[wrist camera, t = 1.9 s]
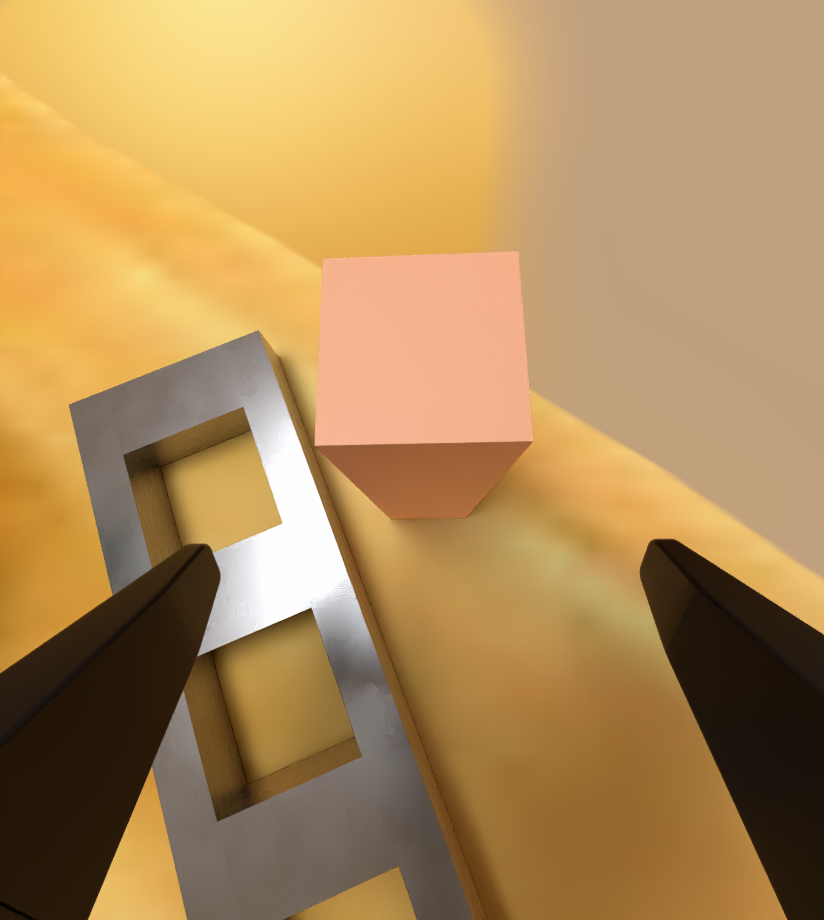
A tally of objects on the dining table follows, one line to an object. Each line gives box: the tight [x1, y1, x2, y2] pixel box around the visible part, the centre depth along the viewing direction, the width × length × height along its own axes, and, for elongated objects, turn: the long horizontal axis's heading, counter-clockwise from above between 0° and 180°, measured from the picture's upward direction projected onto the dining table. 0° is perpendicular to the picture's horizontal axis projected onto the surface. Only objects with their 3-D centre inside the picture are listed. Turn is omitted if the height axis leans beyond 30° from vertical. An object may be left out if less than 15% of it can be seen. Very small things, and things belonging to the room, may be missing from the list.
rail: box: [69, 330, 488, 920], centre depth 17 cm, size 30×9×2 cm, turn 23°
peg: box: [314, 251, 533, 519], centre depth 13 cm, size 4×4×13 cm
